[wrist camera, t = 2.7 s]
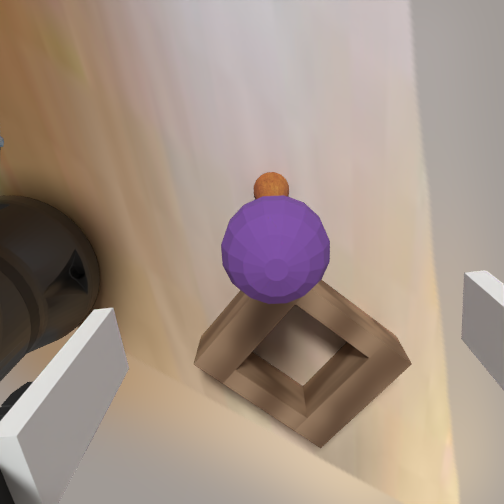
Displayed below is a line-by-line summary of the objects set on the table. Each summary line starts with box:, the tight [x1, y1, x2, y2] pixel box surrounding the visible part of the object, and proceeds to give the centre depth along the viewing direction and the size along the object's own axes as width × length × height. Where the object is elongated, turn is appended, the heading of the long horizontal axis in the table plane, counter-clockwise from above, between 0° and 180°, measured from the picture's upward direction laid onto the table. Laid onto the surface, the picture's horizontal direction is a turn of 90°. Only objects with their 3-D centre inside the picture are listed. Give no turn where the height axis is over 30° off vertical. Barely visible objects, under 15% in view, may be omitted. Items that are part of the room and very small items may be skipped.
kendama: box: [221, 172, 330, 304], centre depth 30 cm, size 6×6×20 cm
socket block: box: [194, 280, 411, 448], centre depth 42 cm, size 16×13×5 cm
